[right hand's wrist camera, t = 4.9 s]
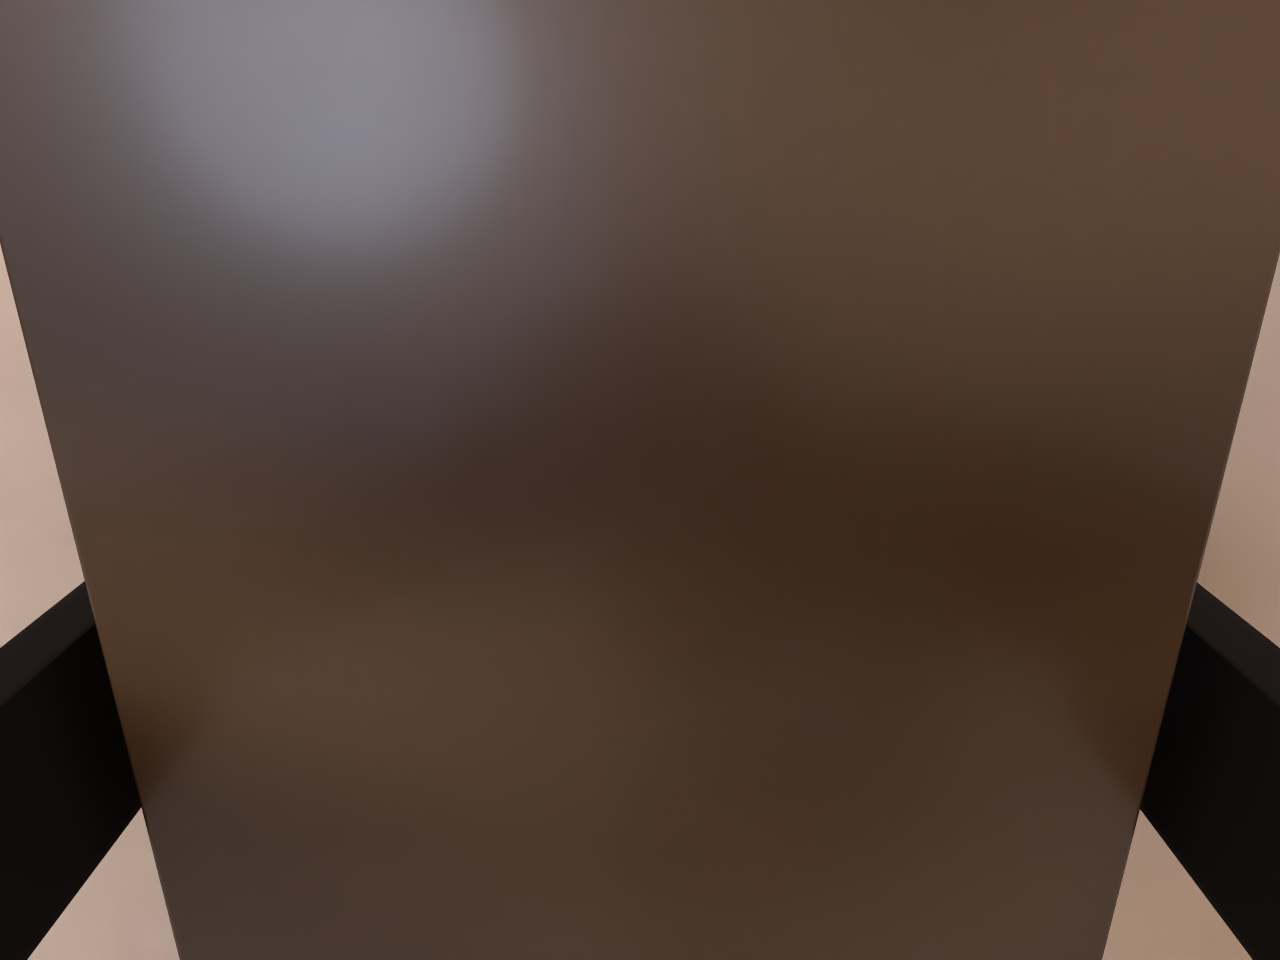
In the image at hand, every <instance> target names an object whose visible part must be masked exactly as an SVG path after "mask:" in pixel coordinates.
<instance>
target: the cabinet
mask: <svg viewBox="0 0 1280 960" xmlns="http://www.w3.org/2000/svg"><path fill="white" fill-rule="evenodd" d="M0 244H1V248H2V252H3V256H4V260H5V264H6V268H7V272H8V276H9V280H10V284H11V288H12V292H13V296H14V300H15V304H16V308H17V312H18V316H19V320H20V324H21V328H22V332H23V336H24V340H25V344H26V348H27V352H28V356H29V360H30V364H31V368H32V372H33V376H34V380H35V384H36V388H37V392H38V396H39V400H40V404H41V408H42V412H43V416H44V420H45V424H46V428H47V432H48V436H49V440H50V443H51V447H52V451H53V455H54V459H55V463H56V467H57V471H58V475H59V479H60V483H61V487H62V491H63V495H64V499H65V503H66V507H67V511H68V515H69V519H70V523H71V527H72V531H73V535H74V539H75V543H76V547H77V551H78V555H79V559H80V563H81V567H82V571H83V575H84V579H85V583H86V587H87V591H88V595H89V599H90V603H91V607H92V611H93V615H94V619H95V623H96V627H97V631H98V635H99V639H100V643H101V647H102V651H103V655H104V659H105V663H106V667H107V671H108V675H109V679H110V683H111V687H112V691H113V695H114V699H115V703H116V707H117V711H118V715H119V719H120V723H121V727H122V731H123V735H124V739H125V743H126V747H127V751H128V755H129V759H130V763H131V767H132V771H133V775H134V779H135V783H136V787H137V791H138V795H139V799H140V803H141V807H142V811H143V815H144V819H145V823H146V827H147V831H148V834H149V838H150V842H151V846H152V850H153V854H154V858H155V862H156V866H157V870H158V874H159V878H160V882H161V886H162V890H163V894H164V898H165V902H166V906H167V910H168V914H169V918H170V922H171V926H172V930H173V934H174V938H175V942H176V946H177V950H178V954H179V958H180V960H1102V957H1103V953H1104V949H1105V945H1106V941H1107V937H1108V933H1109V929H1110V925H1111V921H1112V917H1113V913H1114V909H1115V905H1116V902H1117V898H1118V894H1119V890H1120V886H1121V882H1122V878H1123V874H1124V870H1125V866H1126V862H1127V858H1128V854H1129V850H1130V846H1131V842H1132V838H1133V834H1134V830H1135V826H1136V822H1137V818H1138V814H1139V810H1140V806H1141V802H1142V798H1143V794H1144V790H1145V786H1146V782H1147V778H1148V774H1149V770H1150V766H1151V762H1152V758H1153V754H1154V750H1155V746H1156V743H1157V739H1158V735H1159V731H1160V727H1161V723H1162V719H1163V715H1164V711H1165V707H1166V703H1167V699H1168V695H1169V691H1170V687H1171V683H1172V679H1173V675H1174V671H1175V667H1176V663H1177V659H1178V655H1179V651H1180V647H1181V643H1182V639H1183V635H1184V631H1185V627H1186V623H1187V619H1188V615H1189V611H1190V607H1191V603H1192V599H1193V595H1194V591H1195V587H1196V584H1197V580H1198V576H1199V572H1200V568H1201V564H1202V560H1203V556H1204V552H1205V548H1206V544H1207V540H1208V536H1209V532H1210V528H1211V524H1212V520H1213V516H1214V512H1215V508H1216V504H1217V500H1218V496H1219V492H1220V488H1221V484H1222V480H1223V476H1224V472H1225V468H1226V464H1227V460H1228V456H1229V452H1230V448H1231V444H1232V440H1233V436H1234V432H1235V428H1236V425H1237V421H1238V417H1239V413H1240V409H1241V405H1242V401H1243V397H1244V393H1245V389H1246V385H1247V381H1248V377H1249V373H1250V369H1251V365H1252V361H1253V357H1254V353H1255V349H1256V345H1257V341H1258V337H1259V333H1260V329H1261V325H1262V321H1263V317H1264V313H1265V309H1266V305H1267V301H1268V297H1269V293H1270V289H1271V285H1272V281H1273V277H1274V273H1275V269H1276V266H1277V262H1278V258H1279V254H1280V0H0Z"/></svg>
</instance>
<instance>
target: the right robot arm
mask: <svg viewBox="0 0 1280 960" xmlns="http://www.w3.org/2000/svg"><path fill="white" fill-rule="evenodd" d="M140 808H141V803H140V799H139V795H138V791H137V787H136V783H135V779H134V775H133V771H132V767H131V763H130V759H129V755H128V751H127V747H126V743H125V739H124V735H123V731H122V727H121V723H120V719H119V715H118V711H117V707H116V703H115V699H114V695H113V691H112V687H111V683H110V679H109V675H108V671H107V667H106V663H105V659H104V655H103V651H102V647H101V643H100V639H99V635H98V631H97V627H96V623H95V619H94V615H93V611H92V607H91V603H90V599H89V595H88V591H87V587H86V583H85V581H84V582H83V583H82V584H80V585H79V586H78V587H77V588H75V589H74V590H73V591H72V592H70V593H69V594H68V595H67V596H65V597H64V598H63V599H62V600H60V601H59V602H58V603H56V604H55V605H54V606H53V607H51V608H50V609H49V610H48V611H46V612H45V613H44V614H43V615H41V616H40V617H39V618H38V619H36V620H35V621H34V622H33V623H31V624H30V625H29V626H27V627H26V628H25V629H24V630H22V631H21V632H20V633H19V634H17V635H16V636H15V637H14V638H12V639H11V640H10V641H9V642H7V643H6V644H5V645H4V646H2V647H1V648H0V960H27V959H28V958H29V957H30V955H31V954H32V952H33V951H34V950H35V948H36V947H37V946H38V944H39V943H40V942H41V940H42V939H43V938H44V936H45V935H46V934H47V932H48V931H49V930H50V928H51V927H52V926H53V924H54V923H55V922H56V920H57V919H58V918H59V916H60V915H61V914H62V912H63V911H64V910H65V908H66V907H67V906H68V904H69V903H70V902H71V900H72V899H73V898H74V896H75V895H76V894H77V892H78V891H79V890H80V888H81V887H82V886H83V884H84V883H85V882H86V880H87V879H88V878H89V876H90V875H91V874H92V872H93V871H94V870H95V868H96V867H97V866H98V864H99V863H100V862H101V860H102V859H103V858H104V856H105V855H106V854H107V852H108V851H109V850H110V848H111V847H112V846H113V844H114V843H115V842H116V840H117V839H118V838H119V836H120V835H121V834H122V832H123V831H124V830H125V828H126V827H127V826H128V824H129V823H130V821H131V820H132V819H133V817H134V816H135V815H136V813H137V812H138V811H139V809H140ZM1140 809H1141V811H1142V812H1143V813H1144V815H1145V816H1146V817H1147V819H1148V820H1149V822H1150V823H1151V824H1152V826H1153V827H1154V828H1155V830H1156V831H1157V832H1158V834H1159V835H1160V836H1161V838H1162V839H1163V840H1164V842H1165V843H1166V844H1167V846H1168V847H1169V848H1170V850H1171V851H1172V852H1173V854H1174V855H1175V856H1176V858H1177V859H1178V860H1179V862H1180V863H1181V864H1182V866H1183V867H1184V868H1185V870H1186V871H1187V872H1188V874H1189V875H1190V876H1191V878H1192V879H1193V880H1194V882H1195V883H1196V884H1197V886H1198V887H1199V888H1200V890H1201V891H1202V892H1203V894H1204V895H1205V896H1206V898H1207V899H1208V900H1209V902H1210V903H1211V904H1212V906H1213V907H1214V908H1215V910H1216V911H1217V912H1218V914H1219V915H1220V916H1221V918H1222V919H1223V920H1224V922H1225V923H1226V924H1227V926H1228V927H1229V928H1230V930H1231V931H1232V932H1233V934H1234V935H1235V936H1236V938H1237V939H1238V940H1239V942H1240V943H1241V944H1242V946H1243V947H1244V948H1245V950H1246V951H1247V952H1248V954H1249V955H1250V957H1251V958H1252V959H1253V960H1280V648H1279V647H1278V646H1276V645H1275V644H1274V643H1273V642H1271V641H1270V640H1269V639H1268V638H1266V637H1265V636H1264V635H1263V634H1261V633H1260V632H1259V631H1258V630H1256V629H1255V628H1254V627H1253V626H1251V625H1250V624H1249V623H1247V622H1246V621H1245V620H1244V619H1242V618H1241V617H1240V616H1239V615H1237V614H1236V613H1235V612H1234V611H1232V610H1231V609H1230V608H1229V607H1227V606H1226V605H1225V604H1224V603H1222V602H1221V601H1220V600H1218V599H1217V598H1216V597H1215V596H1213V595H1212V594H1211V593H1210V592H1208V591H1207V590H1206V589H1205V588H1203V587H1202V586H1201V585H1200V584H1198V583H1197V584H1196V587H1195V591H1194V595H1193V599H1192V603H1191V607H1190V611H1189V615H1188V619H1187V623H1186V627H1185V631H1184V635H1183V639H1182V643H1181V647H1180V651H1179V655H1178V659H1177V663H1176V667H1175V671H1174V675H1173V679H1172V683H1171V687H1170V691H1169V695H1168V699H1167V703H1166V707H1165V711H1164V715H1163V719H1162V723H1161V727H1160V731H1159V735H1158V739H1157V743H1156V746H1155V750H1154V754H1153V758H1152V762H1151V766H1150V770H1149V774H1148V778H1147V782H1146V786H1145V790H1144V794H1143V798H1142V802H1141V806H1140Z"/></svg>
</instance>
